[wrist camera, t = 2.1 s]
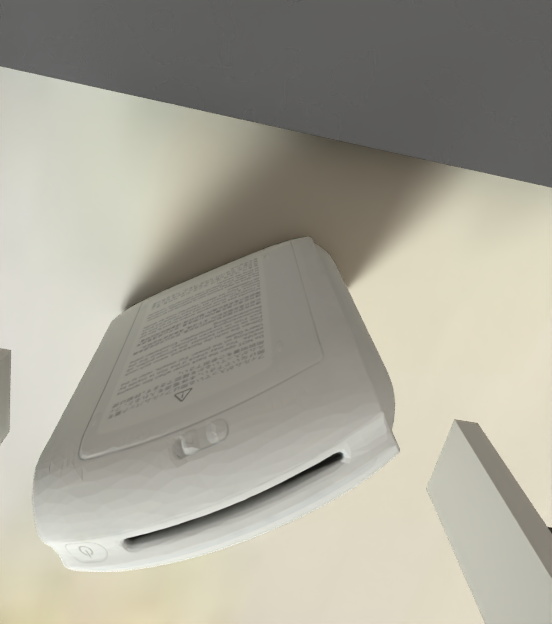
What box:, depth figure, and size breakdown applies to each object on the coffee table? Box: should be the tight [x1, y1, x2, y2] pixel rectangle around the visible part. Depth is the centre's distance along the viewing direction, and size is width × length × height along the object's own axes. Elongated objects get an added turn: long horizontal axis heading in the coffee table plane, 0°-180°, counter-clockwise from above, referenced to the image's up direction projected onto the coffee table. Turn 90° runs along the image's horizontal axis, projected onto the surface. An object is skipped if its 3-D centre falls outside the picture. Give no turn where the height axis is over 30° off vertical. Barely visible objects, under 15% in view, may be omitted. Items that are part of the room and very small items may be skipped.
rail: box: [0, 0, 552, 187], centre depth 17 cm, size 32×9×6 cm, turn 78°
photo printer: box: [32, 237, 400, 572], centre depth 18 cm, size 10×4×12 cm, turn 113°
